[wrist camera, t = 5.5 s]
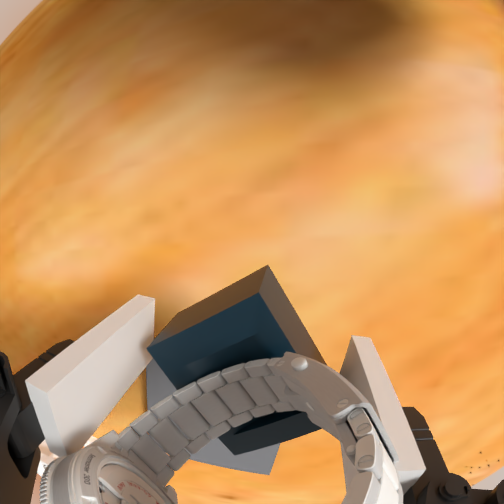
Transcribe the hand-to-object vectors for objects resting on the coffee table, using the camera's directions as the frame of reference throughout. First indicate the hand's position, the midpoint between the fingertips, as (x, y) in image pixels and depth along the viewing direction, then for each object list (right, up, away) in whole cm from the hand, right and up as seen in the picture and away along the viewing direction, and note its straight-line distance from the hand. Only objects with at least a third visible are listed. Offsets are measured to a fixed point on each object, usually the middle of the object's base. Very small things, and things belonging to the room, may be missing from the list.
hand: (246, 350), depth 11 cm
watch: (0, 0, +1) cm, 1 cm away
